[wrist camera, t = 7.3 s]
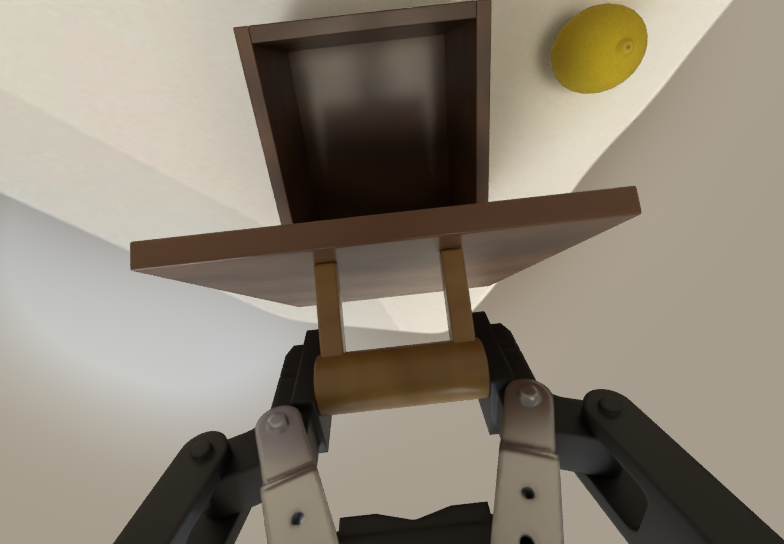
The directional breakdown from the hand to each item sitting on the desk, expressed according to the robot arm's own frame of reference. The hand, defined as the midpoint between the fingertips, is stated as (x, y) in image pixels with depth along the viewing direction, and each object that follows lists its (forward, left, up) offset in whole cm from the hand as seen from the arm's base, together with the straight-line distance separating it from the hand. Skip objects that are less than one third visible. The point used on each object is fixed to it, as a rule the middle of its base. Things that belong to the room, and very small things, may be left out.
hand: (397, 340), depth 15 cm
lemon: (-11, +14, -24) cm, 30 cm away
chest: (-3, -1, -23) cm, 24 cm away
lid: (-1, 0, -5) cm, 5 cm away
